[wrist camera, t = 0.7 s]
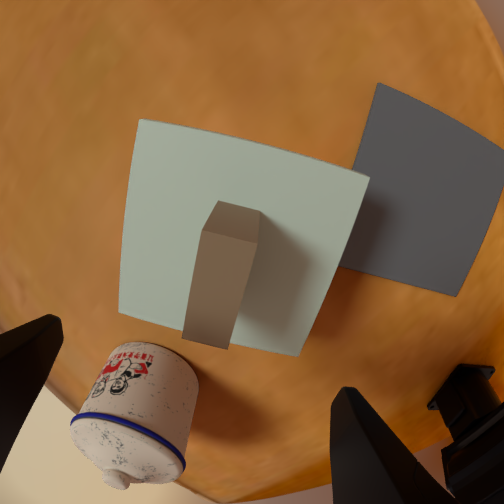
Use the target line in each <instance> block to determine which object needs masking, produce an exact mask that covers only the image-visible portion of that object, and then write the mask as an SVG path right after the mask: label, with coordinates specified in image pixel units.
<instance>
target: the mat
mask: <svg viewBox="0 0 504 504" xmlns="http://www.w3.org/2000/svg"><path fill="white" fill-rule="evenodd" d="M352 170H354V171H357V172H359V173H362V174H365V175H367V176H368V177H370V179H369V182H368V185H367V188H366V191H365V194H364V197H363V200H362V203H361V206H360V208H359V211H358V214H357V217H356V219H355V222H354V225H353V228H352V230H351V233H350V236H349V238H348V241H347V243H346V246H345V249H344V251H343V254H342V256H341V259H340V261H339V264H338V266H340V267H344V268H348V269H352V270H356V271H360V272H364V273H367V274H371V275H375V276H379V277H383V278H387V279H390V280H394V281H398V282H402V283H406V284H409V285H413V286H417V287H421V288H425V289H428V290H432V291H436V292H440V293H444V294H447V295H451V296H455V297H456V296H457V294H458V292H459V290H460V288H461V286H462V284H463V282H464V280H465V278H466V276H467V274H468V272H469V270H470V268H471V266H472V264H473V262H474V259H475V257H476V255H477V253H478V251H479V248H480V246H481V244H482V242H483V239H484V237H485V234H486V232H487V230H488V227H489V225H490V222H491V219H492V217H493V214H494V212H495V209H496V206H497V203H498V201H499V198H500V195H501V192H502V189H503V186H504V150H503V149H501V148H500V147H499V146H497V145H496V144H494V143H493V142H491V141H489V140H488V139H486V138H485V137H483V136H482V135H480V134H479V133H477V132H475V131H474V130H472V129H470V128H469V127H467V126H465V125H464V124H462V123H460V122H459V121H457V120H455V119H453V118H451V117H450V116H448V115H446V114H444V113H442V112H440V111H439V110H437V109H435V108H433V107H431V106H429V105H427V104H425V103H423V102H421V101H419V100H417V99H415V98H413V97H411V96H409V95H407V94H404V93H402V92H400V91H398V90H396V89H393V88H391V87H389V86H386V85H384V84H382V83H377V87H376V91H375V94H374V98H373V101H372V105H371V109H370V112H369V116H368V119H367V122H366V126H365V129H364V133H363V136H362V139H361V143H360V146H359V149H358V152H357V155H356V159H355V162H354V165H353V168H352Z"/></svg>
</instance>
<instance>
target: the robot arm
mask: <svg viewBox="0 0 504 504" xmlns="http://www.w3.org/2000/svg"><path fill="white" fill-rule="evenodd" d="M63 339H64V336H63V330H62V323H61V319H60V318H59V317H57V316H55V315H52V314H47V315H45V316H42V317H40V318H38V319H35V320H33V321H30V322H28V323H26V324H23V325H21V326H19V327H16V328H14V329H12V330H9V331H7V332H5V333H2V334H0V473H1V471H2V468H3V466H4V464H5V461H6V459H7V457H8V454H9V452H10V450H11V448H12V446H13V444H14V442H15V439H16V437H17V435H18V433H19V431H20V429H21V427H22V425H23V423H24V421H25V419H26V417H27V415H28V413H29V411H30V409H31V408H32V406H33V404H34V402H35V400H36V398H37V396H38V395H39V393H40V391H41V389H42V387H43V386H44V384H45V382H46V380H47V378H48V375H49V373H50V371H51V368H52V366H53V364H54V361H55V359H56V357H57V355H58V352H59V350H60V348H61V346H62V343H63ZM494 372H495V368H494V367H493V366H480V365H468V364H460V365H458V366H457V367H456V369H455V370H454V371H453V373H452V374H451V375H450V377H449V378H448V379H447V381H446V382H445V383H444V385H443V386H442V387H441V389H440V390H439V391H438V392H437V394H436V395H435V396H434V397H433V399H432V400H431V401H430V402H429V403H428V405H427V408H428V410H439V411H440V414H441V416H442V418H443V420H444V423H445V425H446V427H447V428H449V431H450V433H451V436H452V438H453V440H454V442H453V443H451V444H450V445H449V446H447V447H445V448H443V449H441V453H442V462H443V468H444V475H445V483H446V487H447V490H449V491H450V492H451V493H452V494H453V496H454V497H455V498H454V497H453V496H452V495H451V494H450V493H448V492H447V491H446V490H445V489H444V488H443V487H442V486H441V485H440V484H439V483H438V482H437V481H436V480H435V479H434V478H433V477H432V476H431V475H430V474H429V473H428V471H427V470H426V469H425V468H424V467H423V466H422V465H421V464H420V462H417V459H416V458H415V457H414V456H413V454H412V453H411V452H410V451H409V450H408V449H407V447H406V446H405V445H404V444H403V443H402V442H401V440H400V439H399V438H398V437H397V436H396V435H395V433H394V432H393V431H392V430H391V429H390V428H389V426H388V425H387V424H386V423H385V422H384V421H383V419H382V418H381V417H380V416H379V415H378V414H377V412H376V411H375V410H374V409H373V408H372V407H371V405H370V404H369V403H368V402H367V401H366V399H365V398H364V397H363V396H362V395H361V394H360V392H359V391H358V390H357V389H356V388H354V387H346V386H345V387H342V388H341V390H340V391H339V393H338V394H337V396H336V397H335V399H334V400H333V402H332V405H331V418H330V461H331V475H332V489H333V504H504V402H503V403H501V401H500V400H499V398H498V396H497V394H496V393H495V391H494V389H493V388H492V386H491V384H490V383H489V381H488V380H489V379H490V377H491V376H492V375H493V373H494Z"/></svg>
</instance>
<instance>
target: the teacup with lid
mask: <svg viewBox="0 0 504 504" xmlns="http://www.w3.org/2000/svg"><path fill="white" fill-rule="evenodd" d="M198 392H199V383H198V379H197V376H196V374H195V373H194V371H193V369H192V368H191V367H190V366H189V365H188V364H187V362H186V361H184V360H183V359H182V358H181V357H179V356H178V355H177V354H175V353H173V352H172V351H170V350H168V349H166V348H163V347H161V346H158V345H155V344H151V343H145V342H130V343H126V344H123V345H121V346H119V347H117V348H116V349H115V350H113V352H112V353H111V354H110V356H109V358H108V360H107V362H106V363H105V365H104V367H103V369H102V371H101V372H100V374H99V376H98V378H97V380H96V382H95V383H94V385H93V387H92V389H91V391H90V393H89V395H88V397H87V399H86V400H85V402H84V404H83V406H82V408H81V410H80V412H79V414H78V415H76V416H75V417H73V419H72V421H71V424H70V426H71V427H70V432H71V437H72V440H73V442H74V444H75V445H76V446H77V448H78V449H79V450H80V451H81V452H82V453H83V454H84V455H85V456H86V457H87V458H89V459H90V460H91V461H93V463H94V464H95V465H96V466H97V467H98V468H99V469H100V470H102V471H103V475H102V479H103V481H104V482H105V483H106V484H108V485H109V486H111V487H114V488H116V489H120V490H125V489H127V488H128V487H129V485H130V483H151V484H163V483H168V482H172V481H174V480H176V479H177V478H179V477H180V476H181V474H182V473H183V471H184V470H185V467H186V462H185V459H184V456H185V451H186V447H187V442H188V437H189V433H190V428H191V423H192V419H193V414H194V410H195V405H196V401H197V396H198Z"/></svg>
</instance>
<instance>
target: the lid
mask: <svg viewBox="0 0 504 504" xmlns="http://www.w3.org/2000/svg"><path fill="white" fill-rule="evenodd" d="M369 179H370V177H368V176H367V175H365V174H362V173H359V172H357V171H354V170H351V169H348V168H345V167H342V166H339V165H336V164H332V163H329V162H326V161H323V160H320V159H316V158H313V157H310V156H307V155H303V154H300V153H296V152H293V151H289V150H286V149H282V148H279V147H275V146H271V145H267V144H264V143H260V142H256V141H252V140H248V139H244V138H240V137H235V136H231V135H227V134H222V133H218V132H213V131H209V130H204V129H199V128H194V127H189V126H184V125H179V124H174V123H168V122H162V121H157V120H151V119H139V124H138V129H137V135H136V140H135V146H134V152H133V158H132V164H131V170H130V177H129V184H128V192H127V200H126V208H125V217H124V227H123V238H122V251H121V265H120V284H119V313H122V314H125V315H129V316H132V317H135V318H139V319H142V320H145V321H149V322H152V323H156V324H159V325H163V326H166V327H170V328H173V329H177V330H181V331H183V333H182V338H183V339H186V340H190V341H194V342H198V343H202V344H206V345H210V346H214V347H218V348H222V349H227V350H228V346H229V343H233V344H237V345H242V346H246V347H251V348H256V349H260V350H265V351H270V352H275V353H280V354H285V355H290V356H296V357H298V356H299V354H300V352H301V350H302V347H303V345H304V343H305V341H306V339H307V337H308V334H309V332H310V330H311V328H312V326H313V323H314V321H315V319H316V316H317V314H318V312H319V310H320V307H321V305H322V303H323V300H324V298H325V296H326V293H327V291H328V288H329V286H330V284H331V281H332V279H333V276H334V274H335V271H336V269H337V266H338V264H339V261H340V259H341V256H342V254H343V251H344V249H345V246H346V243H347V241H348V238H349V236H350V233H351V230H352V228H353V225H354V222H355V219H356V217H357V214H358V211H359V208H360V206H361V203H362V200H363V197H364V194H365V191H366V188H367V185H368V182H369Z"/></svg>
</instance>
